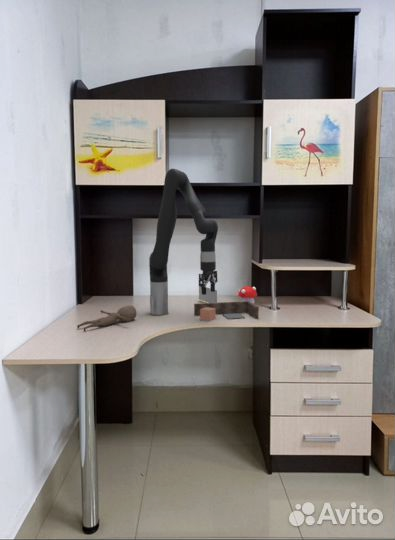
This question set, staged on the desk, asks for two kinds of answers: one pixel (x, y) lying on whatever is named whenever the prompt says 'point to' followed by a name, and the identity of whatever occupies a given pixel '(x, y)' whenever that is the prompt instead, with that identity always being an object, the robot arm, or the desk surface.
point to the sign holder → (207, 296)
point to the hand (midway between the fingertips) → (208, 293)
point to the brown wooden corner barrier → (229, 308)
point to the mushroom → (247, 294)
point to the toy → (113, 317)
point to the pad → (233, 316)
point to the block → (207, 314)
